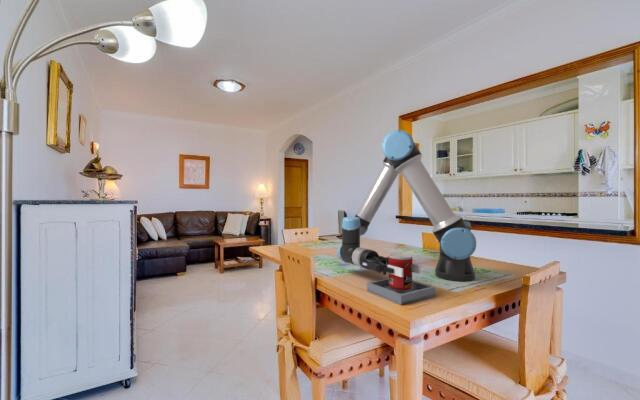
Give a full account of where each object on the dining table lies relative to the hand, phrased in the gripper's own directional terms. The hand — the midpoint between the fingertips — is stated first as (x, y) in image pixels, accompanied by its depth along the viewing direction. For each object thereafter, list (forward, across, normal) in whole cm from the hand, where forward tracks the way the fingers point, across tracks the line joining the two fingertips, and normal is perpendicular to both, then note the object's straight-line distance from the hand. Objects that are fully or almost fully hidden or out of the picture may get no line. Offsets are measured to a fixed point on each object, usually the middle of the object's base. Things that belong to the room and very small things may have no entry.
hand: (411, 271), depth 101 cm
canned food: (-5, 0, -7) cm, 8 cm away
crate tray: (-5, 0, -9) cm, 10 cm away
